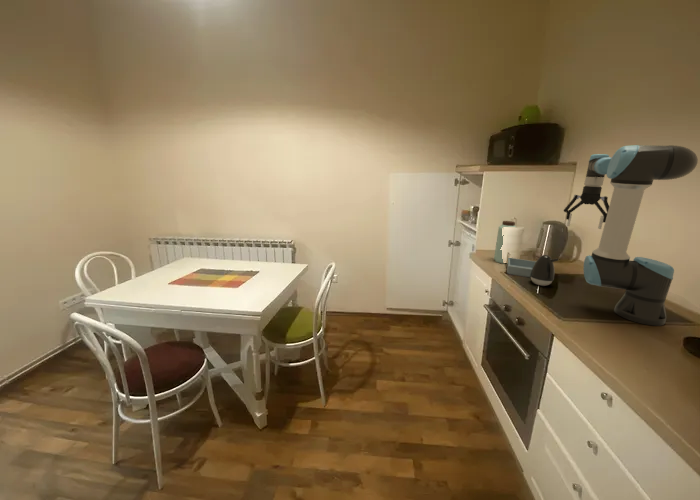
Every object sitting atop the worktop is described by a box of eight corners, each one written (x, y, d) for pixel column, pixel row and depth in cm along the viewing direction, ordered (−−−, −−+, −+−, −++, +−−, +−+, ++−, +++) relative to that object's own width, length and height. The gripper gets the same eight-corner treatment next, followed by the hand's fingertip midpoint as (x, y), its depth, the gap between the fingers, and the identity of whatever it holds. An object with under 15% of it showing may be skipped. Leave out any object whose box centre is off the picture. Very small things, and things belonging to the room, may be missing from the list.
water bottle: (493, 262, 191) (499, 222, 184) (494, 258, 199) (500, 219, 193) (511, 265, 186) (518, 223, 180) (511, 260, 195) (518, 221, 188)
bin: (546, 279, 163) (548, 271, 162) (507, 273, 171) (508, 265, 170) (543, 269, 179) (544, 262, 178) (507, 264, 187) (508, 257, 186)
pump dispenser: (551, 289, 150) (558, 259, 146) (527, 284, 156) (532, 255, 152) (553, 283, 158) (560, 254, 154) (530, 279, 164) (536, 251, 160)
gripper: (621, 187, 156) (611, 228, 162) (562, 184, 167) (554, 223, 172) (626, 187, 150) (615, 231, 155) (564, 184, 161) (556, 225, 166)
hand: (583, 227), depth 164 cm, fingers open, 13 cm apart
